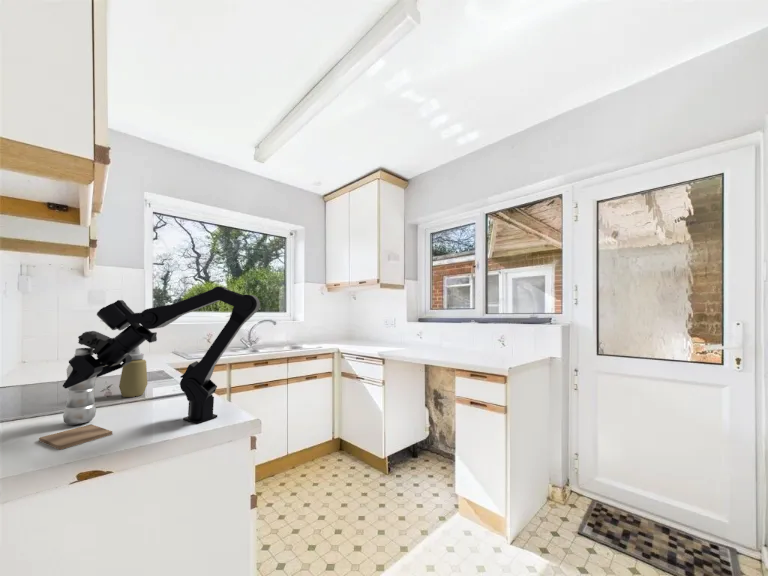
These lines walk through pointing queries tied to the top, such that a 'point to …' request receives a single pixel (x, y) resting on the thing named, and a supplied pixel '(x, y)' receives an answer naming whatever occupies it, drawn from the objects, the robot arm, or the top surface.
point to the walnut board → (75, 436)
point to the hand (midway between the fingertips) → (76, 383)
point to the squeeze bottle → (134, 376)
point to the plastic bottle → (80, 397)
